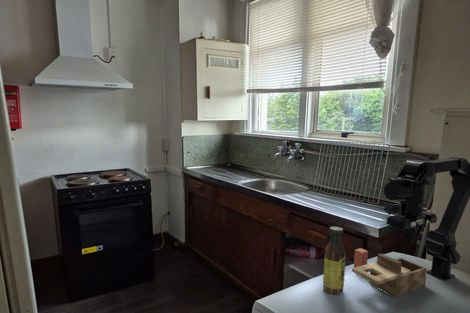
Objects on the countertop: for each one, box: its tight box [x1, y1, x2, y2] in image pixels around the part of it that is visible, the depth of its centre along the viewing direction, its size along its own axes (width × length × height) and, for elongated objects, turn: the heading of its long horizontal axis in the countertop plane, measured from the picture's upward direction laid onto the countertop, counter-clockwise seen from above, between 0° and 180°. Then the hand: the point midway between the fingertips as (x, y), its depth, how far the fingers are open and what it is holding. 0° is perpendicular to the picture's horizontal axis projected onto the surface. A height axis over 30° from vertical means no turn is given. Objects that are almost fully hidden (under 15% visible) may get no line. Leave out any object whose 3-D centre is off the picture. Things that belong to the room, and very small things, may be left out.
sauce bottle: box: [322, 226, 346, 295], centre depth 94 cm, size 7×6×20 cm
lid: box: [351, 253, 411, 285], centre depth 95 cm, size 16×9×4 cm, turn 118°
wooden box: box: [368, 257, 428, 298], centre depth 99 cm, size 16×9×6 cm, turn 118°
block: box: [353, 247, 369, 268], centre depth 108 cm, size 3×3×8 cm
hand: (409, 244), depth 101 cm, fingers closed
